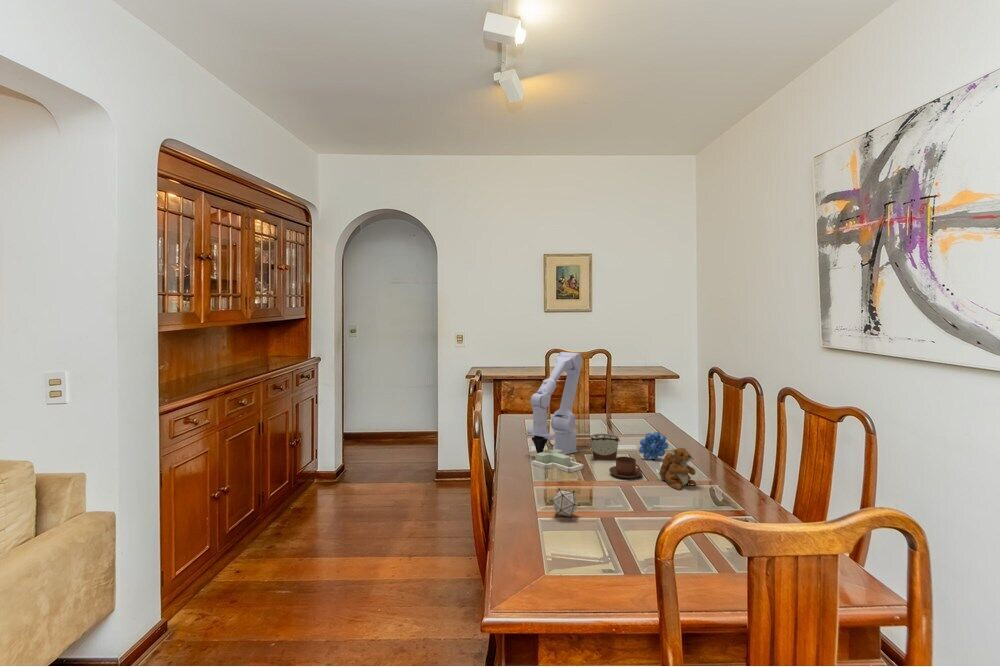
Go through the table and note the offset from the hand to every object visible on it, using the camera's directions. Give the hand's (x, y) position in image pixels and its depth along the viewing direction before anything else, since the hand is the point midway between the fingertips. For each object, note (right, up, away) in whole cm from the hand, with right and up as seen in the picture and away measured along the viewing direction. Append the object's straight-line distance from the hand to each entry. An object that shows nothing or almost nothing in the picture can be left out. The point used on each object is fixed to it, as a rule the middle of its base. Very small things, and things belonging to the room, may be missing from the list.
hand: (539, 454), depth 215 cm
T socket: (+8, -2, -10) cm, 12 cm away
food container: (+27, -2, 0) cm, 27 cm away
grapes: (+47, -2, -1) cm, 47 cm away
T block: (+6, -2, -7) cm, 10 cm away
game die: (+3, -5, -60) cm, 61 cm away
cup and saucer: (+31, -3, -22) cm, 38 cm away
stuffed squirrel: (+46, -3, -31) cm, 56 cm away
